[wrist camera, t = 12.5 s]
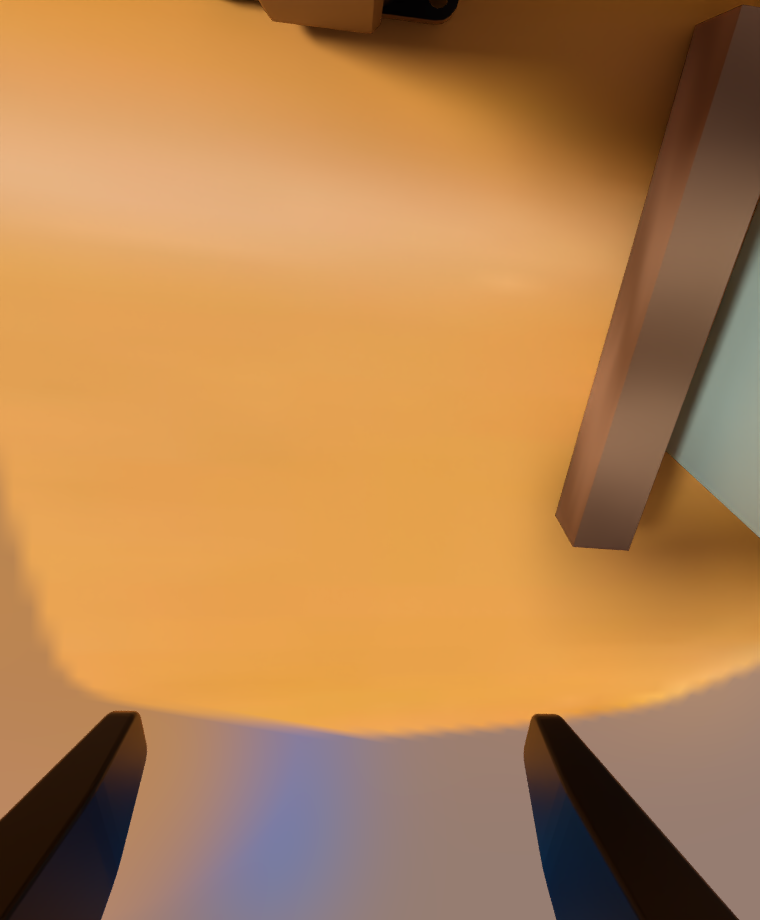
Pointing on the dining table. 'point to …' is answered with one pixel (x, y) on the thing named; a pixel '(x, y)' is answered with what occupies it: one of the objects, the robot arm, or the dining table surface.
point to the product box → (728, 395)
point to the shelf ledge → (670, 282)
